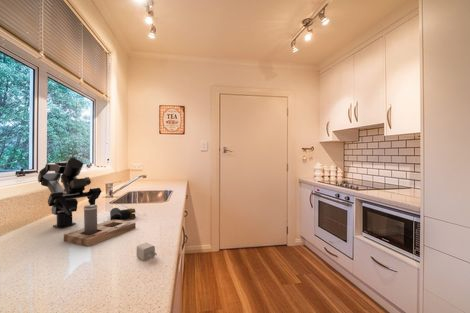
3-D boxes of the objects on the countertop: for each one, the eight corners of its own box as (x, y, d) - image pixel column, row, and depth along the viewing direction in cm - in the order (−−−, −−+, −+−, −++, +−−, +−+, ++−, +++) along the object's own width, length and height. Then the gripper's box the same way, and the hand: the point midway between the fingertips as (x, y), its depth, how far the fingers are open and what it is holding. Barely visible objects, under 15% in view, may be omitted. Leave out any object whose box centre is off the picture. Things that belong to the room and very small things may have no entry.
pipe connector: (133, 205, 126) (136, 211, 113) (133, 214, 126) (136, 221, 113) (109, 208, 120) (110, 214, 107) (110, 218, 120) (110, 225, 107)
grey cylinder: (81, 240, 88) (80, 207, 88) (89, 235, 93) (89, 204, 93) (92, 240, 88) (91, 207, 88) (100, 236, 93) (100, 204, 92)
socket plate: (63, 240, 88) (63, 233, 88) (113, 224, 108) (113, 218, 108) (88, 246, 82) (88, 238, 82) (135, 227, 103) (135, 221, 103)
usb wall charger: (147, 253, 77) (147, 241, 77) (159, 259, 72) (159, 247, 72) (136, 257, 73) (136, 245, 73) (147, 264, 69) (147, 251, 69)
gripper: (49, 173, 90) (60, 204, 84) (99, 170, 105) (111, 196, 99) (43, 190, 94) (53, 221, 88) (91, 185, 110) (103, 211, 104)
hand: (82, 211), depth 95 cm, fingers open, 9 cm apart
